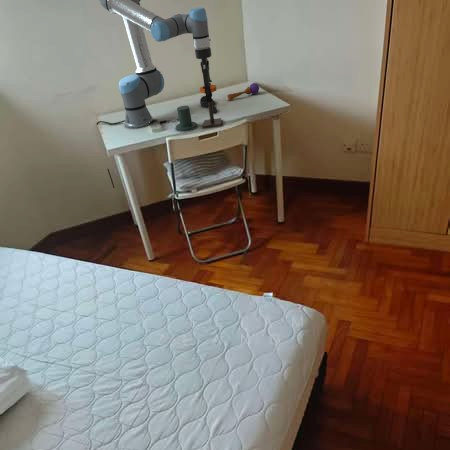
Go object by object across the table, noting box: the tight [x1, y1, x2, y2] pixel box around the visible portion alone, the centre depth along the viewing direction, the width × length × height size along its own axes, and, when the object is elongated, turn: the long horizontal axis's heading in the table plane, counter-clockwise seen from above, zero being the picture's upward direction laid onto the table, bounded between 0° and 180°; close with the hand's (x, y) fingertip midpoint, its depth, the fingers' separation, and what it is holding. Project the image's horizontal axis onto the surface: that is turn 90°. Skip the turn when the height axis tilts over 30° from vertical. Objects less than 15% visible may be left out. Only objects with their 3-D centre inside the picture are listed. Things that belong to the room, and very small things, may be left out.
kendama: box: [226, 82, 260, 102], centre depth 246 cm, size 6×6×20 cm
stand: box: [175, 105, 198, 132], centre depth 216 cm, size 11×11×10 cm
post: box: [203, 102, 222, 129], centre depth 214 cm, size 9×9×14 cm
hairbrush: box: [199, 93, 218, 114], centre depth 239 cm, size 8×4×25 cm
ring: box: [199, 84, 217, 94], centre depth 207 cm, size 8×8×2 cm
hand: (209, 99), depth 210 cm, fingers closed on ring, 8 cm apart
